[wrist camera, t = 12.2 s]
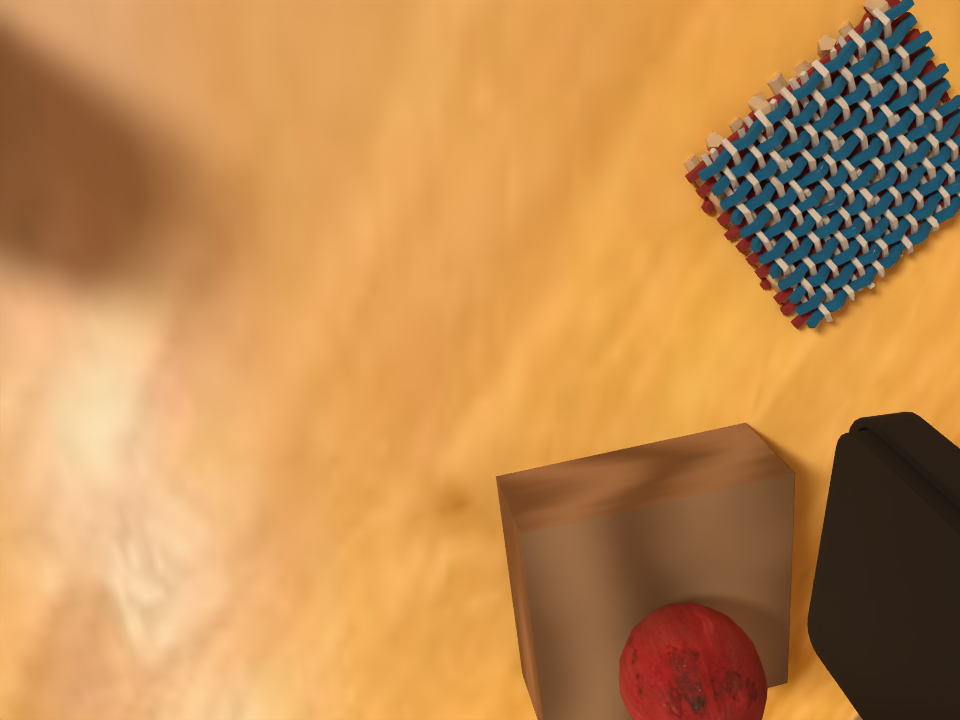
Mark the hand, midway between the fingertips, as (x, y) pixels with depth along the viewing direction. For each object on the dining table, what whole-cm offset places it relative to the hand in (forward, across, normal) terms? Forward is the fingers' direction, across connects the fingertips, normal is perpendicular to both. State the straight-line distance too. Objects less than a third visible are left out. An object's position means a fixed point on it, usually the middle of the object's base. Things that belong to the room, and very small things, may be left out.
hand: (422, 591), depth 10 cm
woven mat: (+28, -20, +4) cm, 35 cm away
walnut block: (+27, -12, +22) cm, 37 cm away
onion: (+22, -12, +22) cm, 33 cm away
